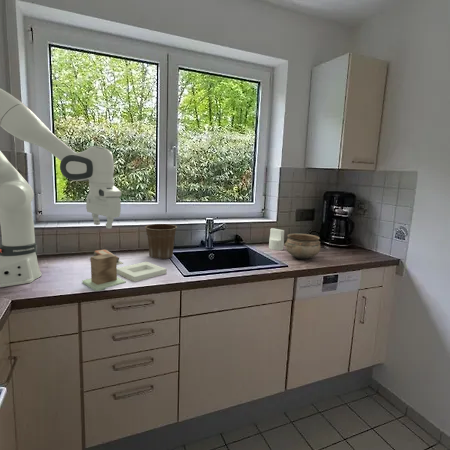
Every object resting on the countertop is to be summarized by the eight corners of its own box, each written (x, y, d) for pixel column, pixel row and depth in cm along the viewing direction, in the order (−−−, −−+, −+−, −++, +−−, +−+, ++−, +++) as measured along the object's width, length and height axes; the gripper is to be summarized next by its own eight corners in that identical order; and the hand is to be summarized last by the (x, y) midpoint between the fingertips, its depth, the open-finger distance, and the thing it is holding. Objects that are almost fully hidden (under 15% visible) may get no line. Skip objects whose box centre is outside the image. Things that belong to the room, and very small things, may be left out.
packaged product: (89, 250, 157) (109, 248, 163) (89, 259, 158) (109, 257, 164) (102, 258, 143) (123, 255, 150) (102, 269, 144) (123, 265, 151)
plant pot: (162, 262, 157) (163, 230, 154) (138, 257, 164) (138, 226, 162) (182, 255, 171) (183, 226, 168) (159, 251, 178) (159, 222, 176)
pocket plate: (134, 282, 127) (134, 276, 127) (115, 273, 137) (115, 268, 137) (166, 274, 139) (166, 268, 139) (146, 266, 149) (146, 261, 148)
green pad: (96, 291, 117) (96, 288, 117) (82, 282, 125) (82, 280, 125) (125, 283, 126) (125, 281, 126) (110, 276, 134) (110, 273, 134)
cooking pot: (295, 265, 161) (297, 241, 159) (273, 255, 178) (274, 234, 176) (330, 260, 173) (332, 238, 171) (306, 252, 190) (308, 232, 187)
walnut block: (97, 284, 121) (96, 259, 119) (91, 281, 124) (90, 256, 122) (116, 280, 127) (116, 256, 125) (110, 277, 130) (110, 253, 128)
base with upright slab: (265, 247, 196) (266, 228, 194) (274, 246, 202) (276, 227, 200) (277, 250, 189) (278, 231, 187) (286, 248, 196) (287, 229, 194)
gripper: (81, 188, 124) (82, 223, 126) (107, 192, 111) (108, 231, 113) (97, 188, 129) (97, 222, 131) (123, 192, 115) (124, 229, 117)
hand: (102, 226), depth 122 cm, fingers open, 8 cm apart
